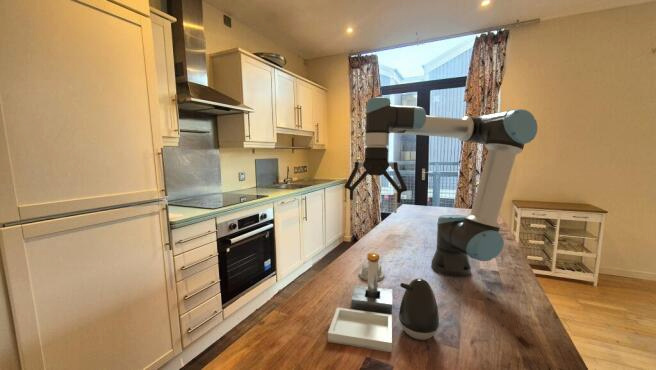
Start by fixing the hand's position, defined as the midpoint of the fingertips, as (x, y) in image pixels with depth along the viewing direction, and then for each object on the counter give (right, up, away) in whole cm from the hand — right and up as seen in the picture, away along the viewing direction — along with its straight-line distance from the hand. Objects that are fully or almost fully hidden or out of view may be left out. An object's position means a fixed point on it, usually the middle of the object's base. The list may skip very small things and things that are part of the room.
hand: (374, 211), depth 91 cm
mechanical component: (+2, -28, +18) cm, 33 cm away
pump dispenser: (+9, -32, -17) cm, 37 cm away
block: (-2, -30, -5) cm, 30 cm away
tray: (-6, -31, -17) cm, 36 cm away
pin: (-2, -30, -5) cm, 30 cm away
